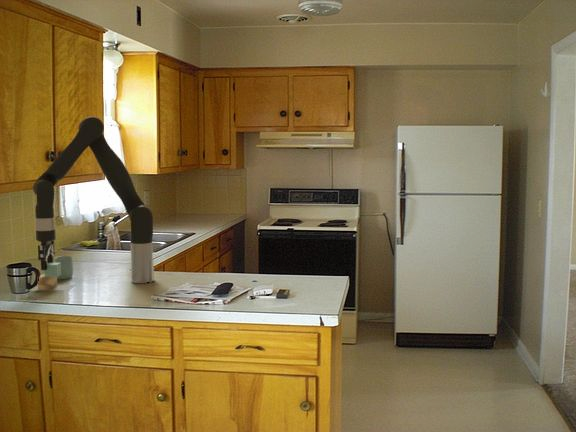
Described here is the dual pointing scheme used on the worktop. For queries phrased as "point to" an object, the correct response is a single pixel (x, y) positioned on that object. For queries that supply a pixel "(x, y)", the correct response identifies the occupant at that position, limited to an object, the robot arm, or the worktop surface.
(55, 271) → the teal block
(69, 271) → the cup
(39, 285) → the oak block
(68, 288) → the pale flat slab
